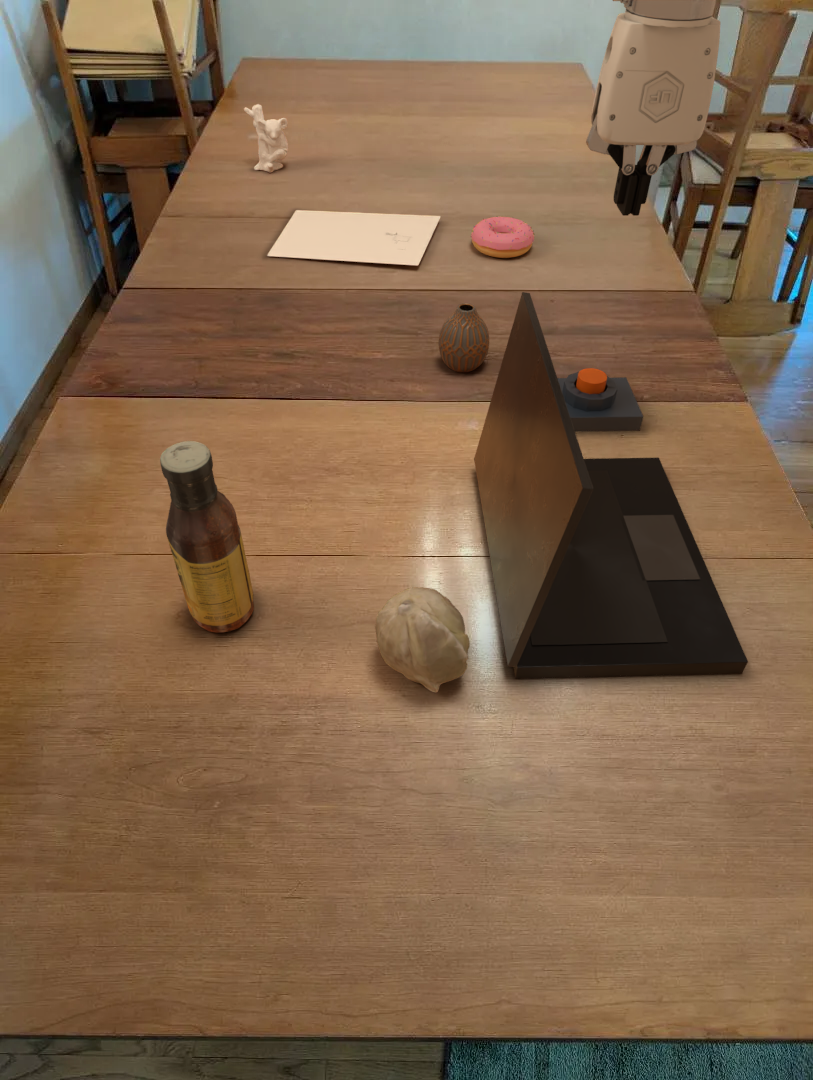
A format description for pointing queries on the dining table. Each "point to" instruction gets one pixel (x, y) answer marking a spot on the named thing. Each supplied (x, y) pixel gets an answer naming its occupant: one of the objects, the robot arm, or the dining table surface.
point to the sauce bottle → (205, 541)
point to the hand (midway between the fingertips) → (627, 210)
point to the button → (591, 381)
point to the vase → (464, 339)
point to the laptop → (631, 589)
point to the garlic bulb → (423, 637)
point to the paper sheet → (356, 237)
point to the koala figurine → (269, 139)
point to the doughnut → (502, 237)
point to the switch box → (602, 406)
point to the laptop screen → (528, 479)
